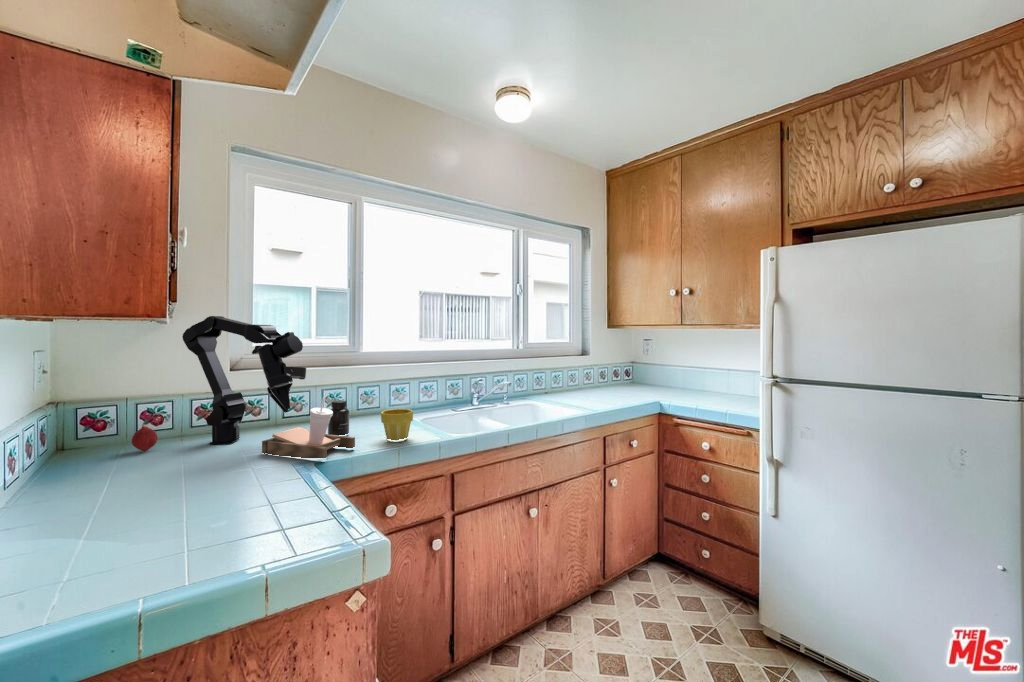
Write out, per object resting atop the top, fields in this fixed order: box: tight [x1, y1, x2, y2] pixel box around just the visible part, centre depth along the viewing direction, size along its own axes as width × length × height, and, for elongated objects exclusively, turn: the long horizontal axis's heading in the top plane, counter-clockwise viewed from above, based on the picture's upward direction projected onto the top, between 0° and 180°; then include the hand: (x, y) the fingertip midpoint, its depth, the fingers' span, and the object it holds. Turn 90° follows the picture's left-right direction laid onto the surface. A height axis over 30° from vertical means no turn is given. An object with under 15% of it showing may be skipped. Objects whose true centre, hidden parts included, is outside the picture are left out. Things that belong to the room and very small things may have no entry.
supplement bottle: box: [327, 400, 350, 435], centre depth 148 cm, size 7×7×12 cm
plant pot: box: [380, 408, 414, 440], centre depth 143 cm, size 10×10×10 cm
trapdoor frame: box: [261, 433, 356, 458], centre depth 128 cm, size 22×13×4 cm, turn 72°
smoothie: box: [309, 396, 333, 444], centre depth 126 cm, size 6×6×14 cm
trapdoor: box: [271, 426, 341, 450], centre depth 128 cm, size 16×10×5 cm, turn 73°
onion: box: [131, 424, 159, 453], centre depth 126 cm, size 6×6×8 cm
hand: (287, 410), depth 132 cm, fingers open, 9 cm apart
